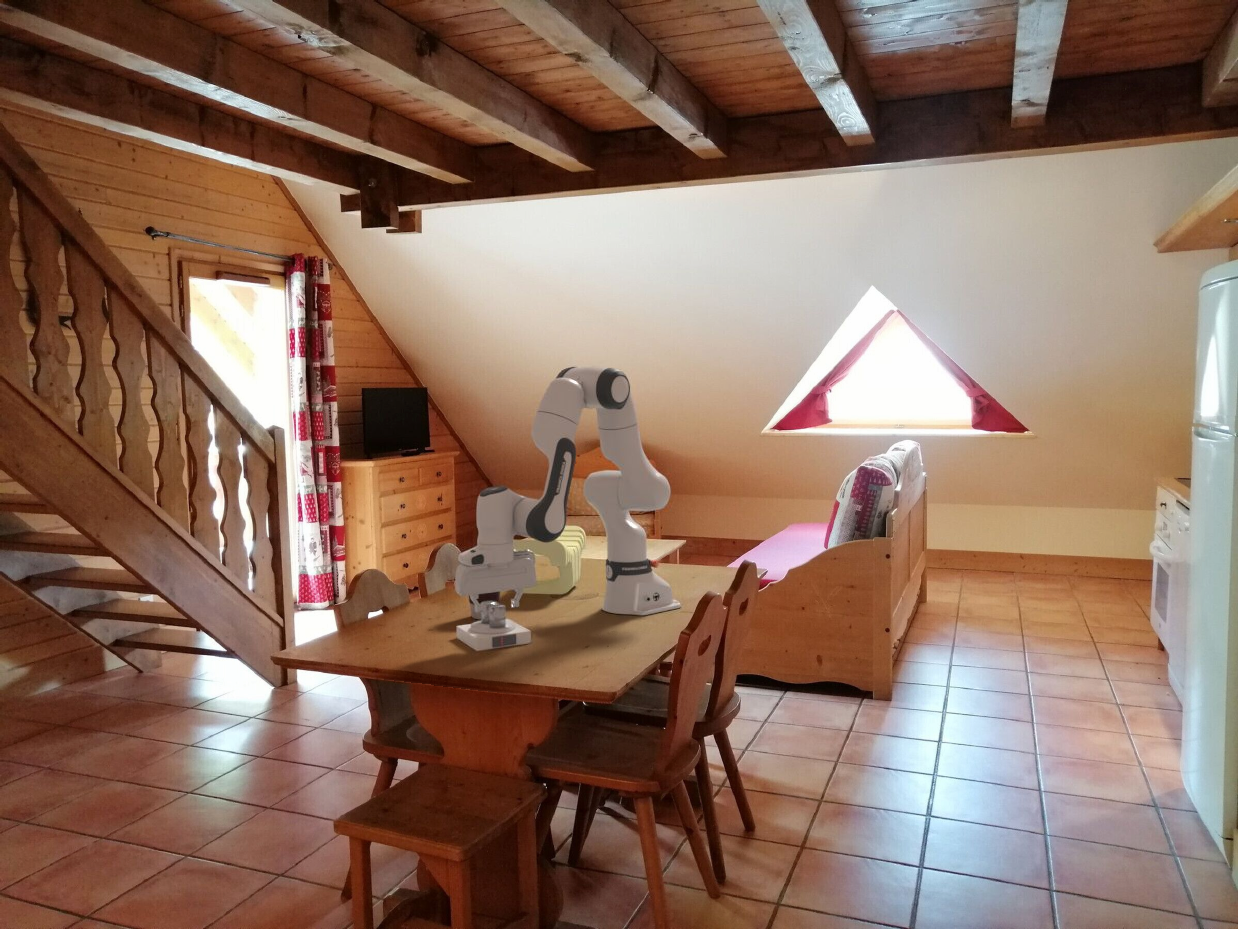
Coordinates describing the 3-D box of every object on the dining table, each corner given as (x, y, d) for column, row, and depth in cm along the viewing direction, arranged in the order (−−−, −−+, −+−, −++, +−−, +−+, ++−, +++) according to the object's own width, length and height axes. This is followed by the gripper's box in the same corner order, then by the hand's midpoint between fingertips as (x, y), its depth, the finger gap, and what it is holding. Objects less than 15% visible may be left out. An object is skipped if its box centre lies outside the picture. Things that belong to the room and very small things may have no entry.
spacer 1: (494, 619, 239) (494, 600, 238) (499, 623, 235) (499, 603, 235) (479, 621, 237) (478, 601, 236) (484, 625, 233) (484, 605, 233)
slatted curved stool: (566, 600, 277) (565, 540, 276) (513, 599, 280) (512, 539, 279) (586, 580, 307) (586, 525, 305) (538, 579, 310) (538, 525, 308)
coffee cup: (468, 622, 252) (467, 567, 251) (464, 614, 262) (463, 560, 261) (505, 619, 255) (504, 564, 254) (500, 611, 264) (499, 558, 263)
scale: (508, 630, 244) (508, 615, 243) (531, 643, 231) (531, 627, 231) (456, 637, 237) (456, 622, 236) (477, 651, 224) (477, 635, 224)
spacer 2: (502, 623, 234) (501, 603, 234) (508, 627, 231) (508, 607, 230) (487, 626, 232) (486, 605, 232) (493, 629, 229) (492, 609, 229)
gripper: (529, 547, 238) (531, 601, 239) (451, 555, 228) (453, 611, 230) (540, 551, 233) (541, 606, 234) (460, 559, 223) (462, 617, 224)
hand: (497, 609), depth 232 cm, fingers open, 8 cm apart
